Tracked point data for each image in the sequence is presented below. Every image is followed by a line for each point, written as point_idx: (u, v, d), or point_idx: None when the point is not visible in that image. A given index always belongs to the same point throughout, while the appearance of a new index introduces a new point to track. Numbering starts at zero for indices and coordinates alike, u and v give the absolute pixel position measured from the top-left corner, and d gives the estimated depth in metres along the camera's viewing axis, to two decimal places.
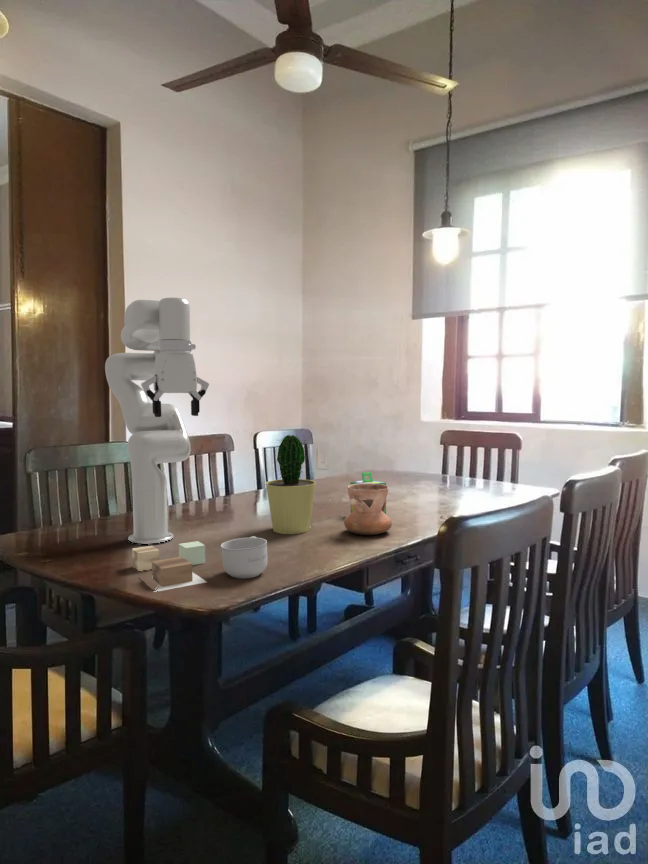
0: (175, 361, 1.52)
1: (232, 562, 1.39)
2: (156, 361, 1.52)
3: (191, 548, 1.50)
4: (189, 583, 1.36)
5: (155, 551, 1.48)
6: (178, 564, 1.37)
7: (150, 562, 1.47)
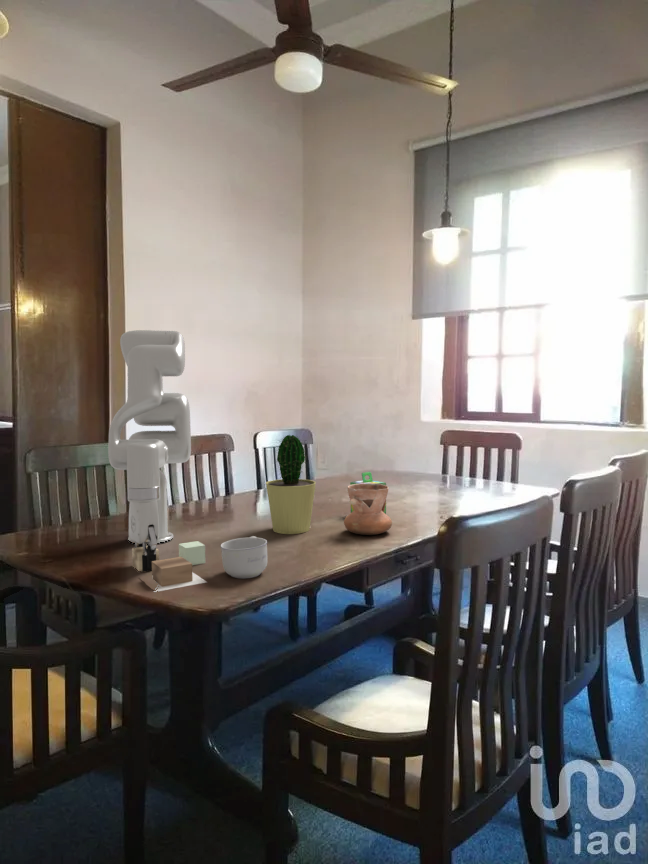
0: None
1: (232, 562, 1.39)
2: (149, 511, 1.44)
3: (191, 548, 1.50)
4: (189, 583, 1.36)
5: None
6: (178, 564, 1.37)
7: None
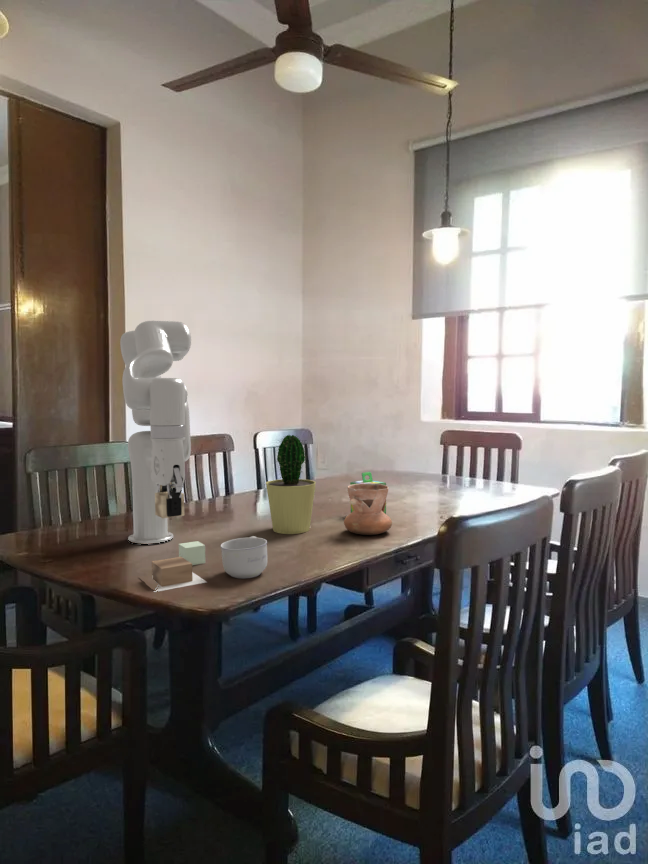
0: None
1: (232, 562, 1.39)
2: (174, 450, 1.33)
3: (191, 548, 1.50)
4: (189, 583, 1.36)
5: None
6: (178, 564, 1.37)
7: None
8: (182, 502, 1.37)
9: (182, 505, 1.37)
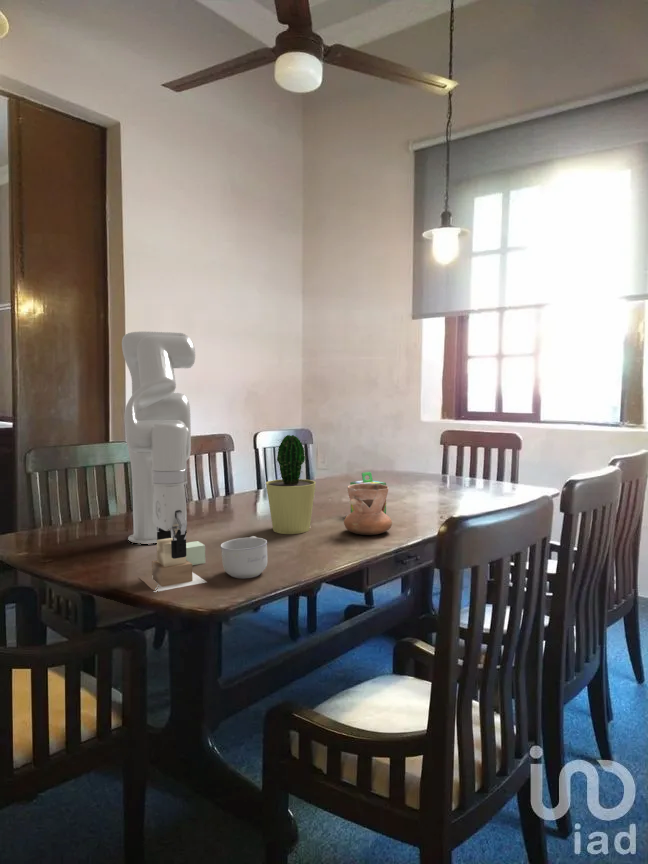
0: None
1: (232, 562, 1.39)
2: (176, 495, 1.34)
3: (191, 548, 1.50)
4: (189, 583, 1.36)
5: None
6: None
7: None
8: None
9: None
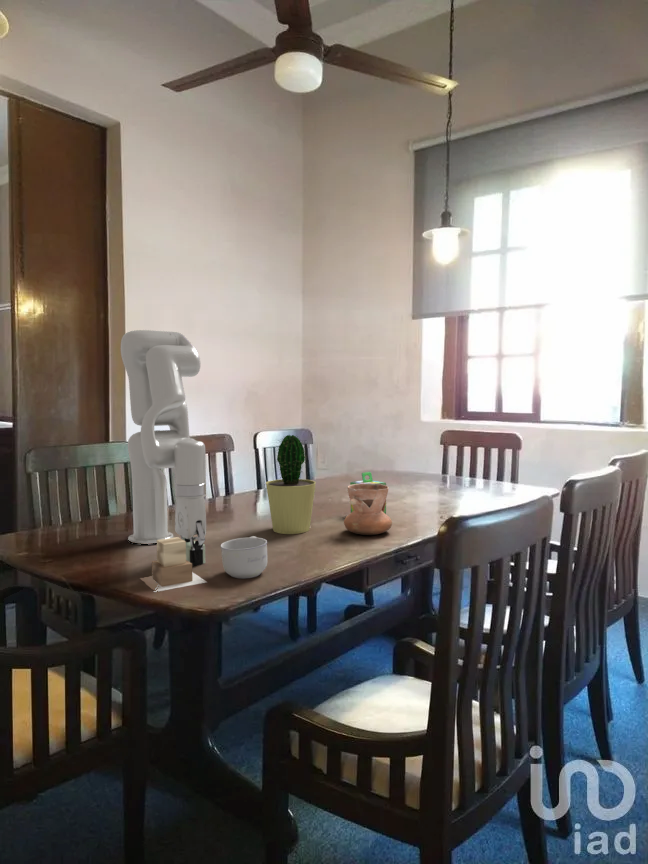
0: None
1: (232, 562, 1.39)
2: (197, 507, 1.48)
3: None
4: (189, 583, 1.36)
5: (182, 542, 1.37)
6: None
7: (176, 554, 1.37)
8: (184, 550, 1.38)
9: (184, 553, 1.38)
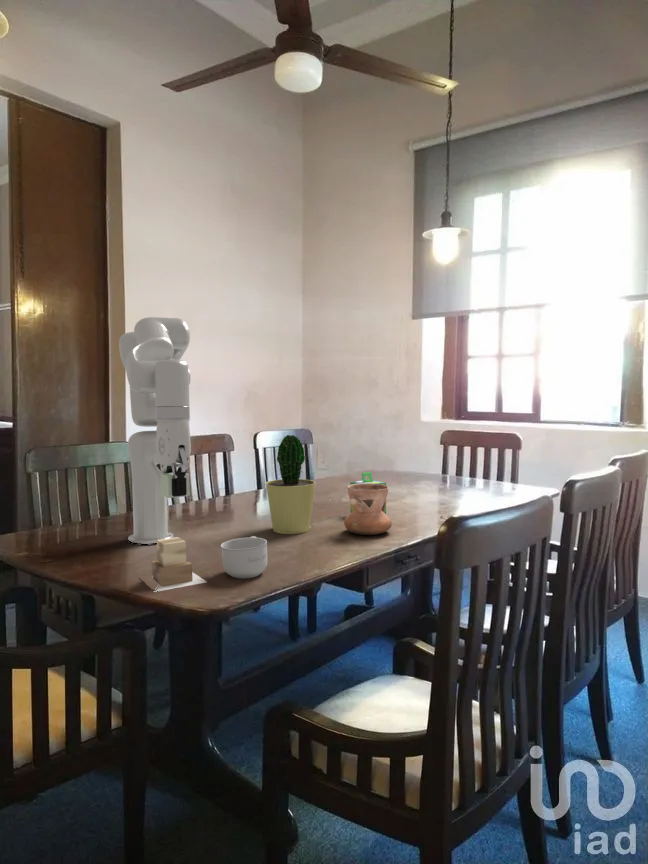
0: None
1: (232, 562, 1.39)
2: (179, 430, 1.35)
3: None
4: (189, 583, 1.36)
5: (182, 542, 1.37)
6: None
7: (176, 554, 1.37)
8: (184, 550, 1.38)
9: (184, 553, 1.38)
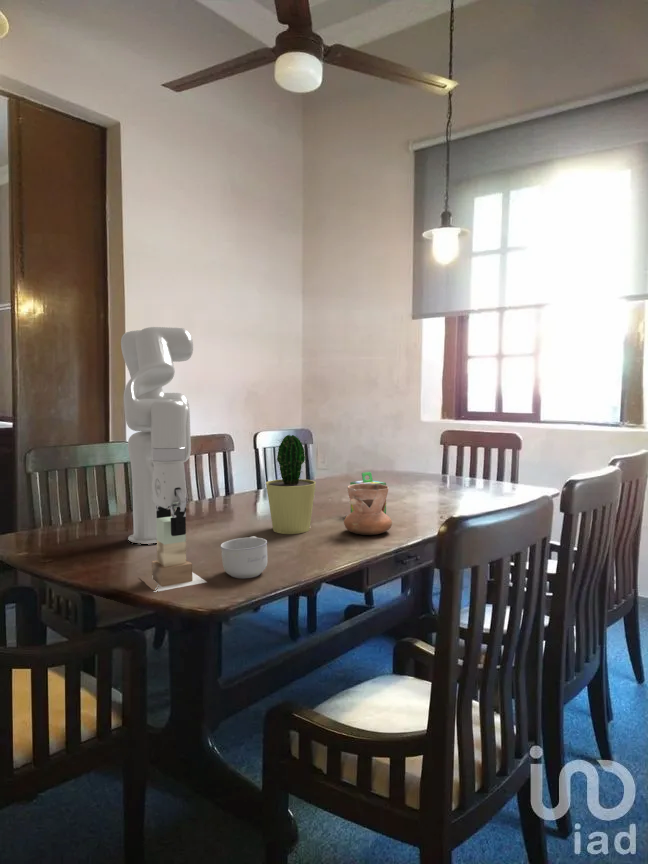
0: None
1: (232, 562, 1.39)
2: (176, 472, 1.33)
3: (170, 522, 1.36)
4: (189, 583, 1.36)
5: (182, 542, 1.37)
6: None
7: (176, 554, 1.37)
8: (184, 550, 1.38)
9: (184, 553, 1.38)
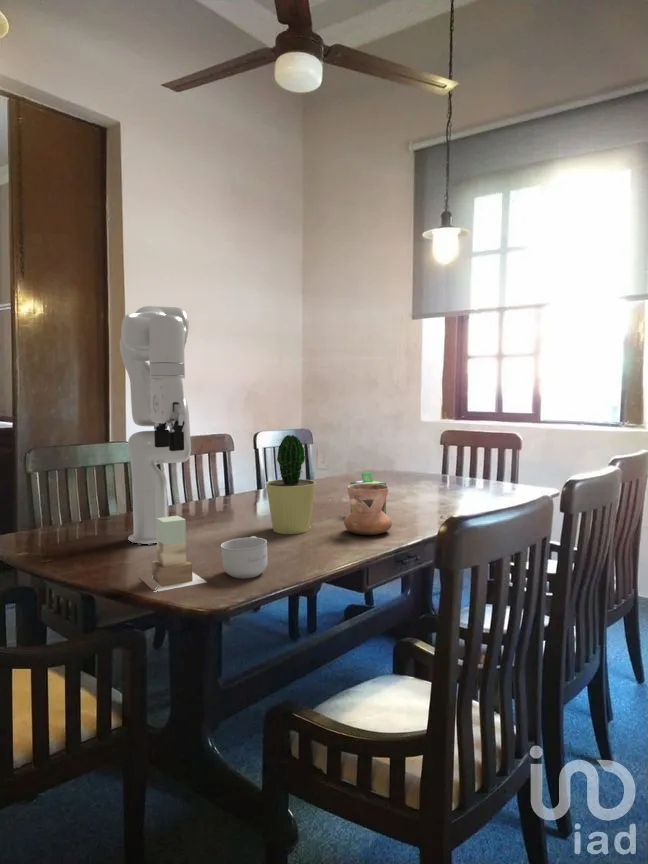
0: None
1: (232, 562, 1.39)
2: (174, 387, 1.32)
3: (170, 522, 1.36)
4: (189, 583, 1.36)
5: (182, 542, 1.37)
6: None
7: (176, 554, 1.37)
8: (184, 550, 1.38)
9: (184, 553, 1.38)
